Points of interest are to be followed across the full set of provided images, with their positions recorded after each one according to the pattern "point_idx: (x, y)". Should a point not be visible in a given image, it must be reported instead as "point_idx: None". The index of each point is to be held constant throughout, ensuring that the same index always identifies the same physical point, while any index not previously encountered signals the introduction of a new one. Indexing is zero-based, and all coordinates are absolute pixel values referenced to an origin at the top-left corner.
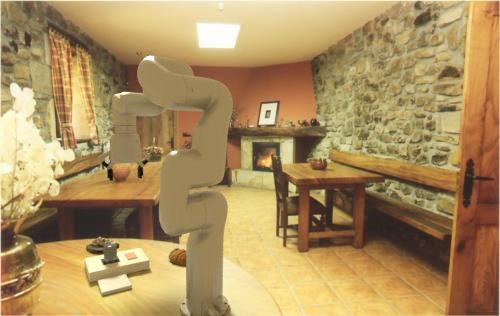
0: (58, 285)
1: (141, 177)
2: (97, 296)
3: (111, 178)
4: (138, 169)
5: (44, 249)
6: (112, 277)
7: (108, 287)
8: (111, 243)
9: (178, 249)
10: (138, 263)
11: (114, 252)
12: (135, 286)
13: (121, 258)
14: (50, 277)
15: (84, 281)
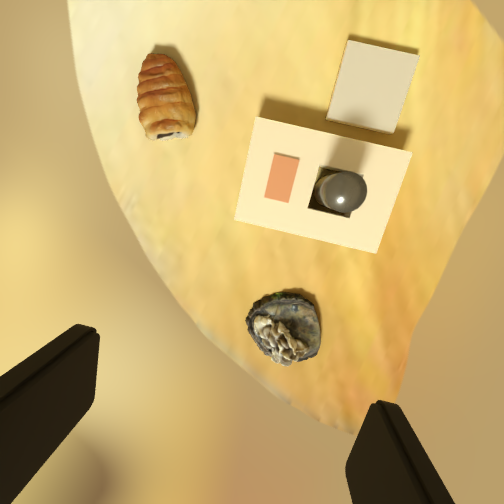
0: (455, 192)
1: (76, 327)
2: (423, 66)
3: (402, 419)
4: (9, 463)
5: None
6: (360, 122)
7: (395, 71)
8: (267, 322)
9: (155, 124)
10: (286, 124)
11: (337, 173)
12: (333, 48)
13: (307, 183)
14: (447, 247)
15: None
